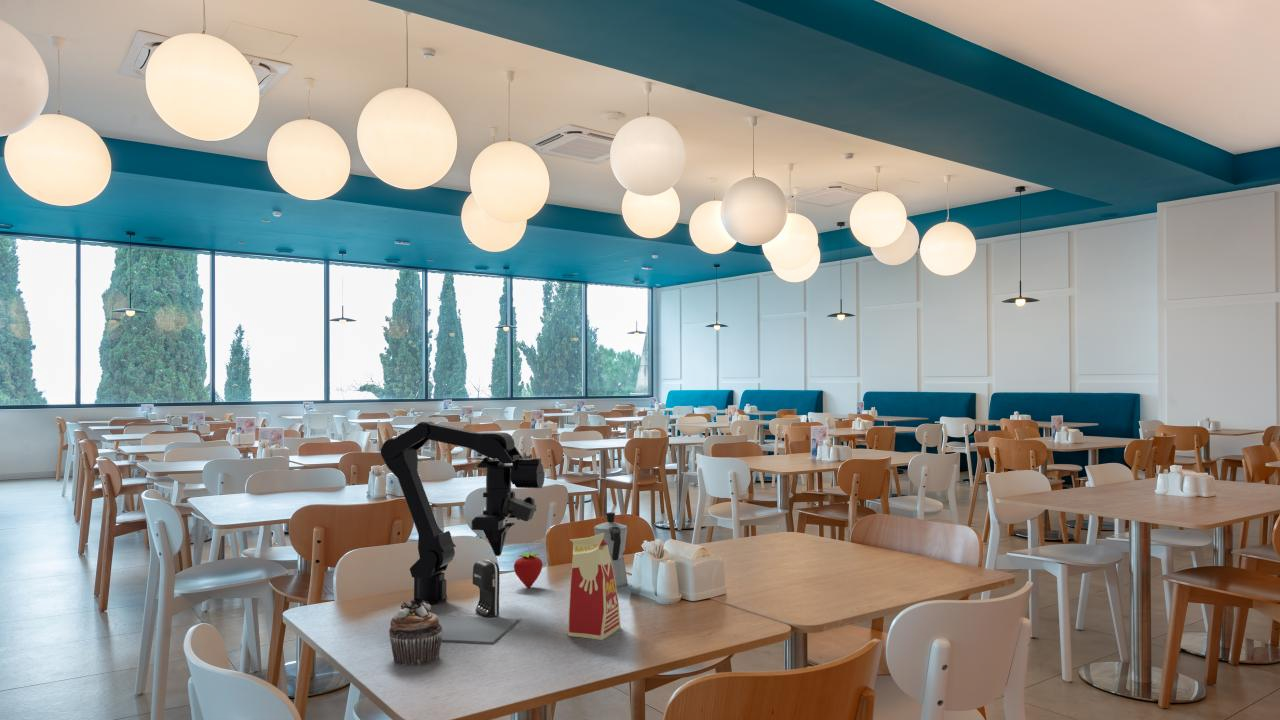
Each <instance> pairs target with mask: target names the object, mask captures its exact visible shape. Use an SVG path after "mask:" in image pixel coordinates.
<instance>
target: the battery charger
mask: <svg viewBox="0 0 1280 720" xmlns="http://www.w3.org/2000/svg"><path fill="white" fill-rule="evenodd" d="M472 585H474V586H477V588H478V589H479V600H478V603H477V606H476V608H475V612H476V613H477V614H479V615H481V616H482V617H485V618H490V617H497V616H499V615H500V567H499V564H498V562H495V561H493V560H489V559H483V560H477V561H476V562H475V563H474V564H473V567H472Z"/></svg>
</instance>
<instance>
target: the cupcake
mask: <svg viewBox="0 0 1280 720" xmlns="http://www.w3.org/2000/svg"><path fill="white" fill-rule="evenodd" d="M428 603H429V602H425V601H424V600H423V601H421V602H420V603H407V602H404V601H403V603H401V606H400V610H399V611H398V613H396V614H395V615H394V616H393V617H392V619H391V620H390V627H389V630H388V634H389V636H388V637H389V640H390V645H391V651H392V657H393V661H394V663H396V664H398V665H402V666H419V665H422V666H423V665H425V664H426V665H427V664H430V663H432V662H435V661H436V660H438V658H439V656H440V650H441V646H442V636H443V631H444V630H443V628H442V627H441V625H440V624H439V619H438V617H437V616H438V615H437V614H436V613H433V612H431V608H432V606H431V604H428Z"/></svg>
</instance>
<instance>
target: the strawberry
mask: <svg viewBox="0 0 1280 720" xmlns="http://www.w3.org/2000/svg"><path fill="white" fill-rule="evenodd" d="M527 548H528V550H529V551H530V553H527V552H525V553H524V554H521V555H519V558H518V559H516V560H515V561H514V564H513V569H514V572H515V575H516V576H517V577H518V579H519V580H520V582H522V584H523V585H524V586H525V587H526V588H531V587H533V584H534V583H535V582H536V580H537V579H538V577H539V576H540V575H541V573H542V570H543V565H544V564H543V561H542V560H541V559H542V558H540V557H539V555H540V554H539V553H532V551H531V549H530V548H529V546H527Z"/></svg>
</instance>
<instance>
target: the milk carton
mask: <svg viewBox="0 0 1280 720" xmlns="http://www.w3.org/2000/svg"><path fill="white" fill-rule="evenodd" d="M603 536H604V533H602V534H598V535H595V534H594V535H591V536H589V537H583V538H582V537H581V538H572V539H571V538H570V539H569V541H570V542H571V543H572V560H571V561H572V562H571V572H570V584H569V585H570V586H569V601H568V603H569V605H568V606H569V607H568V622H567V623H568V624H567V625H568V627H567V628H568V629H567V637H576V638H585V639H592V640H599V641H603V640H605V639H606V638H608V637H609V636H612V635H613V634H614V633H615V632H617V631H618V630H620V629H621V628H622V627H621V616H620V614H621V613H620V604H619V603H620V602H619V597H618V590H617V587H616V582H615V576H614V571H613V566H612V562H611V558H610V553H609V549H608V544H607V543H606V542H605V541H604V540H603Z"/></svg>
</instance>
